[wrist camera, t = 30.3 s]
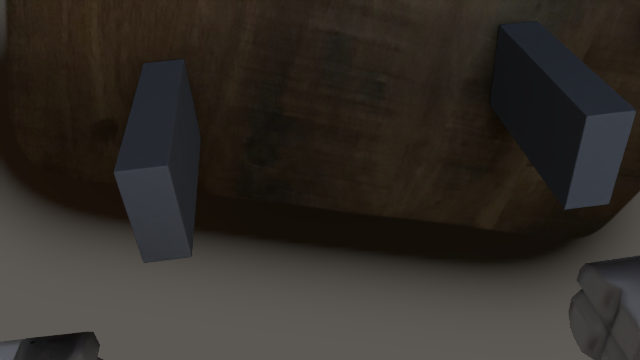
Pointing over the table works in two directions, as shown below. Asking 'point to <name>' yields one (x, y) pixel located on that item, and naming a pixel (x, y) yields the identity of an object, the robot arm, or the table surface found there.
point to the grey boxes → (506, 100)
